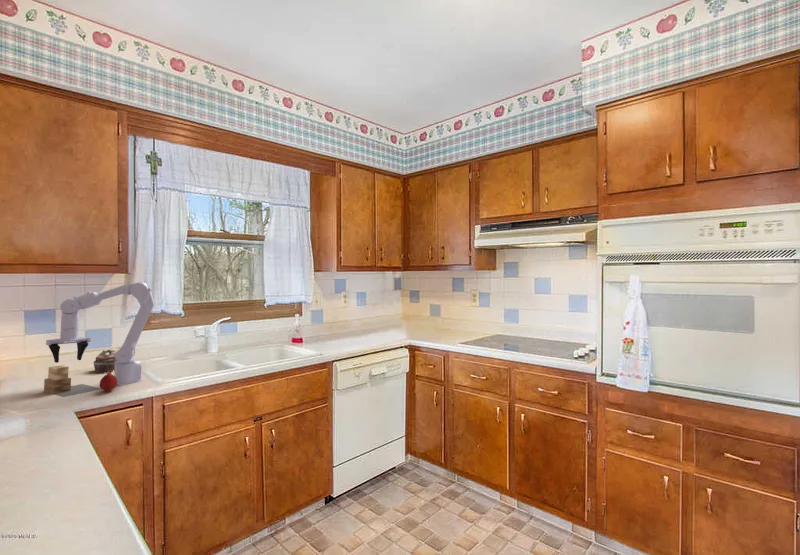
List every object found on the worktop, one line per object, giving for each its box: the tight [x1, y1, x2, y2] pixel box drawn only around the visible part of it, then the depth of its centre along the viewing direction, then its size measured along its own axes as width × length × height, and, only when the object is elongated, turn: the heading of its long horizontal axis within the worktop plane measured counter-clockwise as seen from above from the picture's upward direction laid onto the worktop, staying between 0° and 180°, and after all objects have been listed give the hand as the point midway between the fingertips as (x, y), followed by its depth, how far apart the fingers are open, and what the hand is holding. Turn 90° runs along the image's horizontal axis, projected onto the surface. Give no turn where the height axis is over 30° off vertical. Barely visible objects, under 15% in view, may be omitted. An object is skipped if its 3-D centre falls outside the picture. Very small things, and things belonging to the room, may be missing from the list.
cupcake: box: [93, 349, 117, 374], centre depth 200 cm, size 10×10×10 cm
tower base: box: [43, 383, 72, 395], centre depth 162 cm, size 6×6×2 cm
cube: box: [47, 365, 70, 380], centre depth 162 cm, size 4×4×4 cm
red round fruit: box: [99, 372, 118, 393], centre depth 166 cm, size 6×6×8 cm
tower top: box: [43, 376, 72, 388], centre depth 162 cm, size 6×6×2 cm
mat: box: [42, 383, 102, 398], centre depth 165 cm, size 14×14×1 cm
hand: (68, 361), depth 171 cm, fingers open, 7 cm apart
